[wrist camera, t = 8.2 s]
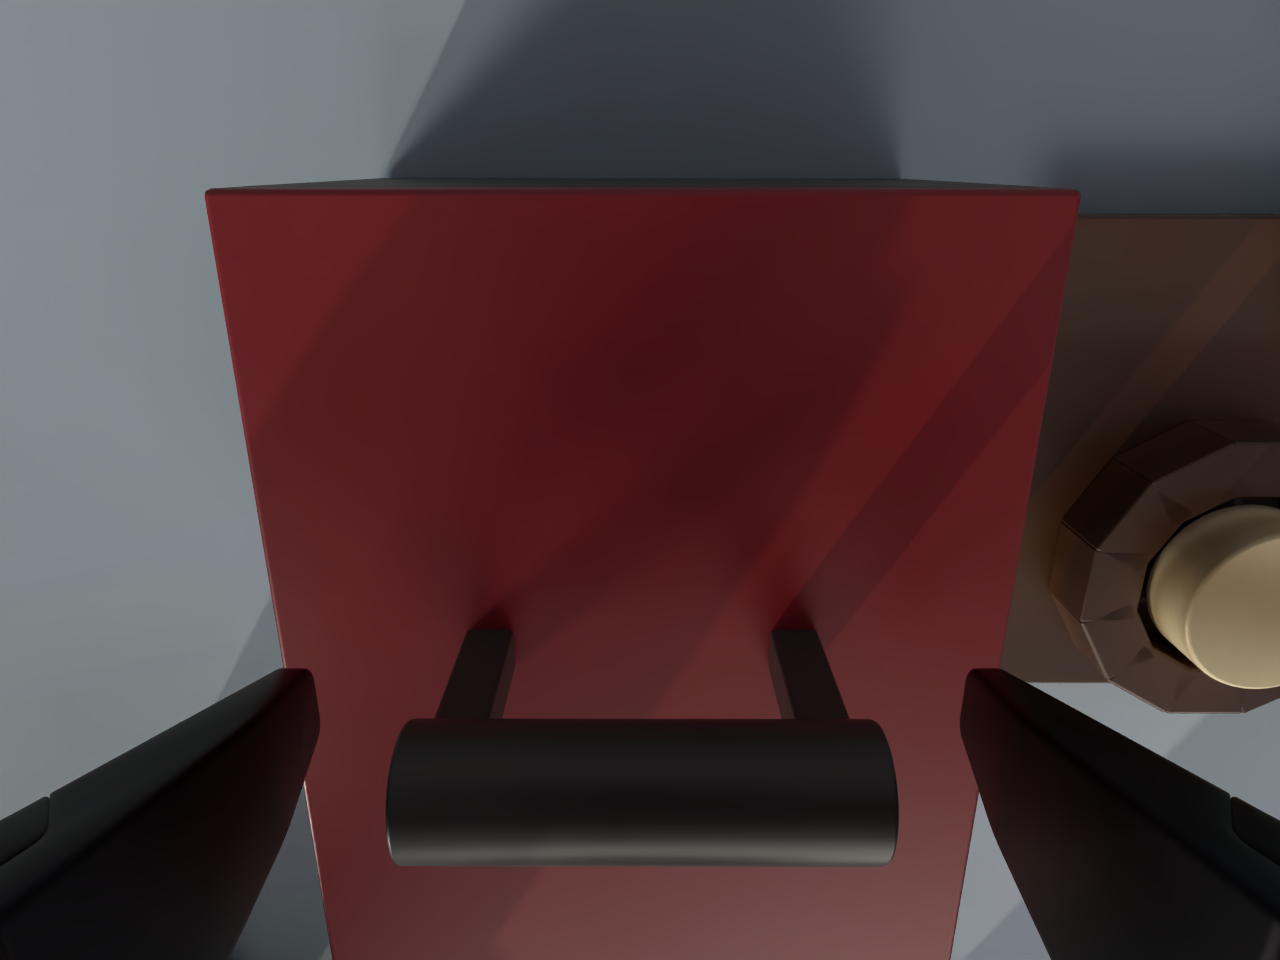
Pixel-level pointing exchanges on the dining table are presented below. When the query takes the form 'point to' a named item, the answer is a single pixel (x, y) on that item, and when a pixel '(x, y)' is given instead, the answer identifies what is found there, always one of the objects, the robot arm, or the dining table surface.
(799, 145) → the dining table surface
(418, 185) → the black box
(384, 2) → the dining table surface
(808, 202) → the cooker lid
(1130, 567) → the release block
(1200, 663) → the release button
